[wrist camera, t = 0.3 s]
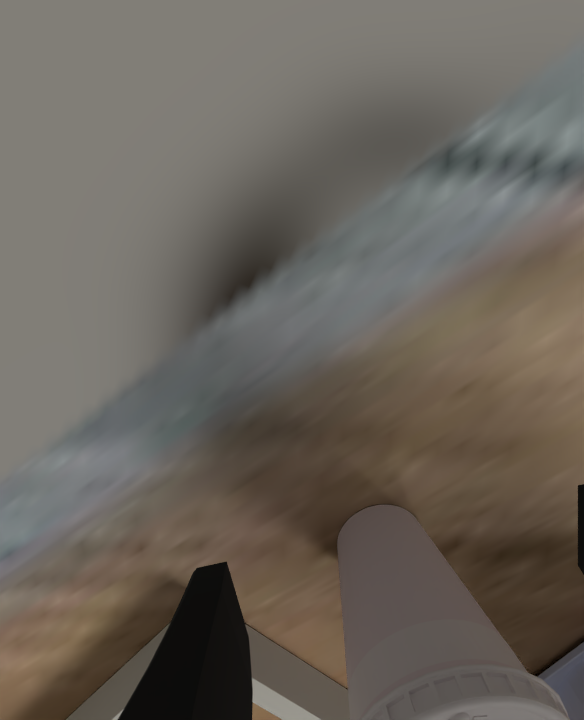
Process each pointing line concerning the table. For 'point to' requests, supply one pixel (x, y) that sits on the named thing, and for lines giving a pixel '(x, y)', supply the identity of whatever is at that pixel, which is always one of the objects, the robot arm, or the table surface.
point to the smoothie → (423, 633)
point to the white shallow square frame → (269, 682)
